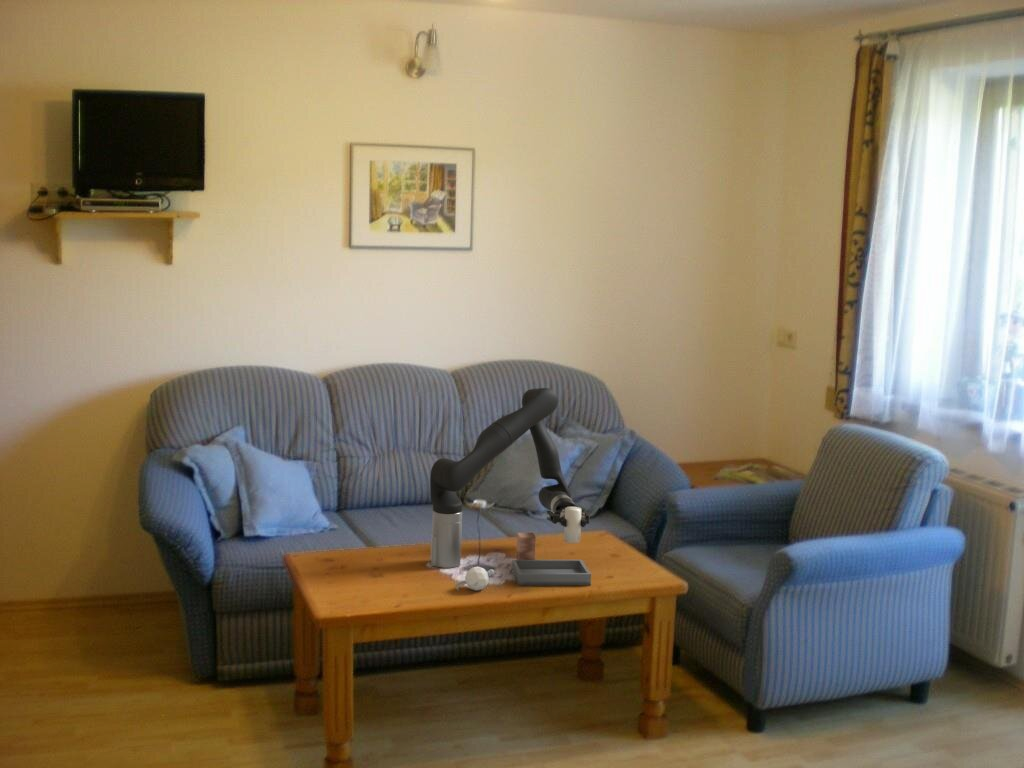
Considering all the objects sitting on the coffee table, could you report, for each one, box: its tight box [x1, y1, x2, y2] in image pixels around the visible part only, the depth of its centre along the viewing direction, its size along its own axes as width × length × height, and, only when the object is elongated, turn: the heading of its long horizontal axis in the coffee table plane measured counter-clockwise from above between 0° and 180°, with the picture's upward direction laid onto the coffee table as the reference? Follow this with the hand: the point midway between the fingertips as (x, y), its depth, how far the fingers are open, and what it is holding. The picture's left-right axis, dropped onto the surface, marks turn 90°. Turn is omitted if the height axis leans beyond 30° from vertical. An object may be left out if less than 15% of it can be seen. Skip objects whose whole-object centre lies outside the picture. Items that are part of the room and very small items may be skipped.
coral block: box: [515, 532, 537, 560], centre depth 347 cm, size 5×5×10 cm
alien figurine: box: [455, 566, 495, 592], centre depth 323 cm, size 7×7×12 cm
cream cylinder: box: [563, 506, 583, 544], centre depth 335 cm, size 5×5×10 cm
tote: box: [511, 559, 592, 587], centre depth 336 cm, size 22×14×4 cm, turn 98°
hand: (574, 523), depth 332 cm, fingers closed on cream cylinder, 5 cm apart
